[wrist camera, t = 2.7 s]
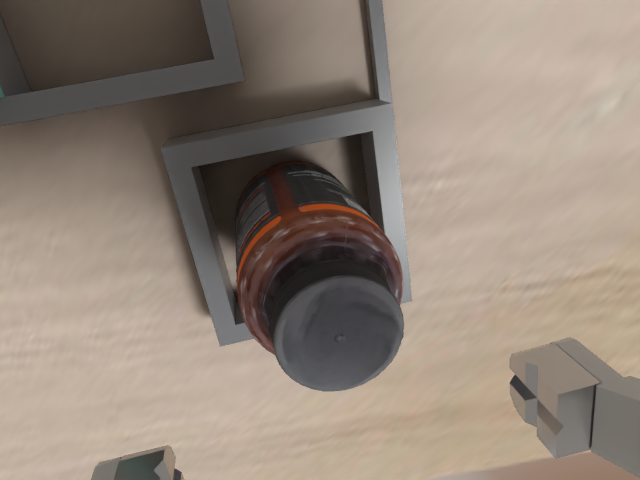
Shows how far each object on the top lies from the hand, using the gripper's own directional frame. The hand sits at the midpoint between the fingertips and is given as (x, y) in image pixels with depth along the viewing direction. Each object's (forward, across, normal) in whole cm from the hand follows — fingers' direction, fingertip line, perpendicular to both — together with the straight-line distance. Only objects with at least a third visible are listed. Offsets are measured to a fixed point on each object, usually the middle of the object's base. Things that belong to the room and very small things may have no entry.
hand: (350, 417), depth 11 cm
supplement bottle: (+14, -1, 0) cm, 15 cm away
